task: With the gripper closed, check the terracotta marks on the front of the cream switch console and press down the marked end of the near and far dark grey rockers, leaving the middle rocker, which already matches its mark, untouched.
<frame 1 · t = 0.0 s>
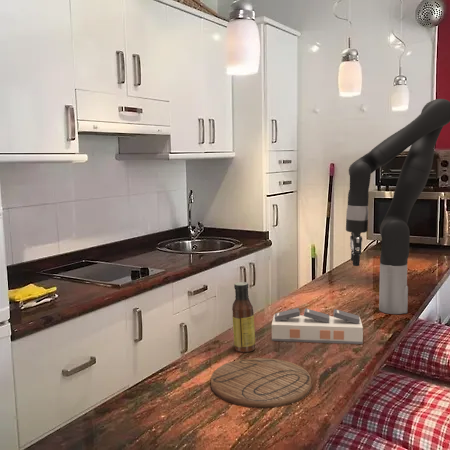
hand: (355, 263, 185), 17 cm above the countertop, tool pointing down, fingers open, 8 cm apart
sauce bottle: (244, 349, 152), on the countertop
middle rocker: (316, 316, 161), point 7 cm above the countertop, hinge at -15.0°
far rocker: (287, 315, 162), point 7 cm above the countertop, hinge at 15.0°
trivet: (260, 385, 130), on the countertop
switch console: (316, 336, 162), on the countertop
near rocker: (346, 316, 159), point 7 cm above the countertop, hinge at -15.0°
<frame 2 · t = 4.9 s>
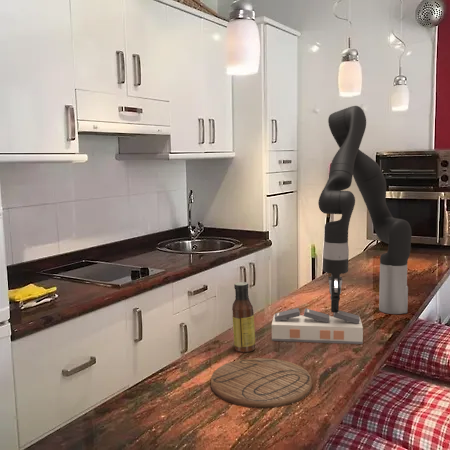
hand: (334, 311, 160), 8 cm above the countertop, tool pointing down, fingers closed
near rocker: (346, 316, 159), point 7 cm above the countertop, hinge at -14.4°, touching gripper
everything else where it was.
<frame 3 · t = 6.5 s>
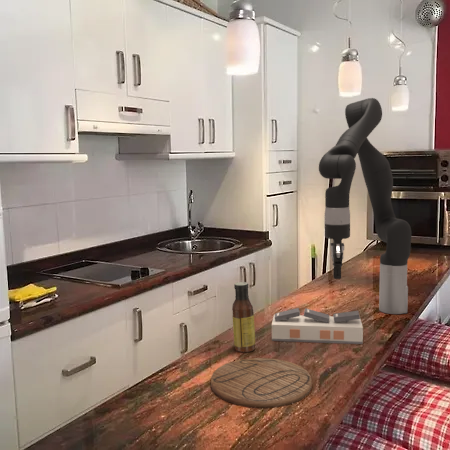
hand: (337, 278, 158), 19 cm above the countertop, tool pointing down, fingers closed
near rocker: (346, 316, 159), point 7 cm above the countertop, hinge at 9.4°
everything else where it was.
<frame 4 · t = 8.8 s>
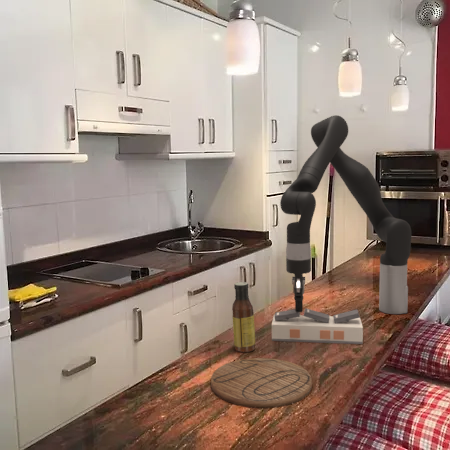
hand: (299, 311, 161), 8 cm above the countertop, tool pointing down, fingers closed
far rocker: (287, 315, 162), point 7 cm above the countertop, hinge at 11.2°, touching gripper
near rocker: (346, 316, 159), point 7 cm above the countertop, hinge at 16.5°, touching switch console
everything else where it was.
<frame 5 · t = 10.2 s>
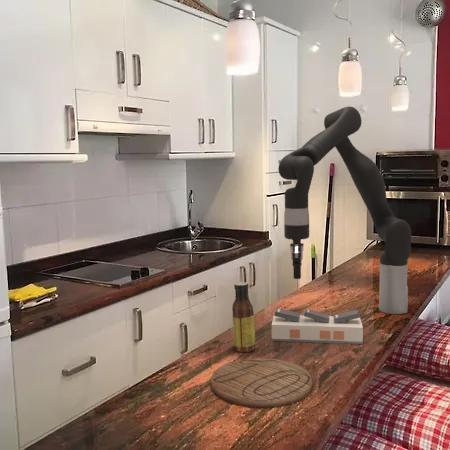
hand: (297, 278, 160), 18 cm above the countertop, tool pointing down, fingers closed
far rocker: (287, 315, 162), point 7 cm above the countertop, hinge at -11.5°
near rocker: (346, 316, 159), point 7 cm above the countertop, hinge at 15.7°, touching switch console
everything else where it was.
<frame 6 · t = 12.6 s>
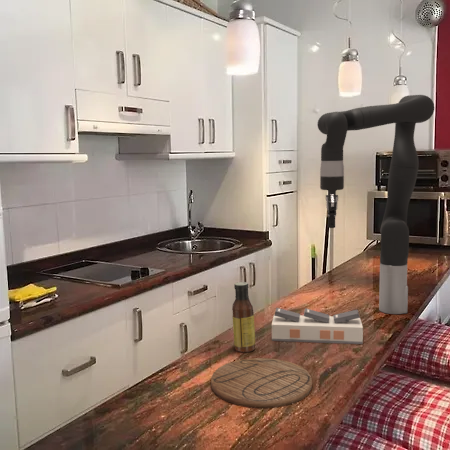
hand: (331, 227, 171), 32 cm above the countertop, tool pointing down, fingers closed
far rocker: (287, 315, 162), point 7 cm above the countertop, hinge at -13.8°
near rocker: (346, 316, 159), point 7 cm above the countertop, hinge at 15.3°
everything else where it was.
at the end: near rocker at +15° (first picture: -15°); middle rocker at -15° (first picture: -15°); far rocker at -14° (first picture: +15°) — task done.
